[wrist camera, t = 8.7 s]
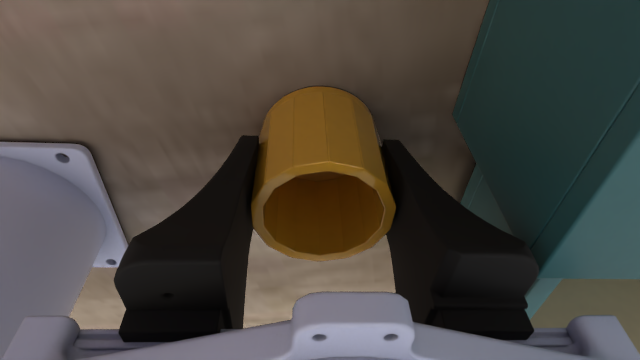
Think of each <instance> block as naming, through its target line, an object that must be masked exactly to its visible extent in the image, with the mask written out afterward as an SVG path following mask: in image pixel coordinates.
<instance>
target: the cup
mask: <svg viewBox="0 0 640 360" xmlns="http://www.w3.org/2000/svg"><path fill="white" fill-rule="evenodd" d="M395 211H396V203H395V199H394V195H393V191H392V186H391V182H390V178H389V174H388V170H387V166H386V162H385V158H384V154H383V150H382V146H381V142H380V137H379V134H378V131H377V129H376V125H375V121H374V119H373V116H372V114H371V112H370V111H369V109H368V108H367V107H366V105H365V104H364V103H363V102H362V101H360V100H359V99H358V98H357V97H355V96H354V95H352V94H350V93H348V92H346V91H343V90H340V89H337V88H332V87H324V86H317V87H308V88H303V89H299V90H297V91H294V92H292V93H290V94H288V95H286V96H284V97H283V98H282V99H280V100H279V101H278V102H277V103H275V104H274V105H273V106H272V108H271V109H270V110H269V112H268V113H267V115H266V117H265V119H264V122H263V125H262V129H261V131H260V137H259V149H258V157H257V163H256V169H255V176H254V184H253V191H252V199H251V215H252V226H253V228H254V230H255V231H256V232H257V233H258V235H259V236H260V237H261V238H262V240H263V241H264V242H265V243H266V245H268V246H269V247H271V248H273V249H275V250H277V251H279V252H281V253H283V254H285V255H287V256H289V257H292V258H298V259H305V260H311V261H328V260H336V259H344V258H347V257H348V258H349V257H351V256H353V255H356V254H358V253H360V252H362V251H364V250H367V249H369V248H371V247H372V246H374V245H375V244H376V243H377V242H378V241H379V240H380V239H381V238H382V237H383V236H384V235H385V234H386V233H387V232H388V231H389V230H390V228H391V225H392V222H393V218H394V214H395Z"/></svg>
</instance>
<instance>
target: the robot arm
mask: <svg viewBox="0 0 640 360" xmlns="http://www.w3.org/2000/svg"><path fill="white" fill-rule="evenodd" d="M258 149H259V136H244V135H243V136H242V137H240V139H239V141H238V143H237V144H236V146H235V148H234V149H233V151H232V152H231V154H230V155H229V157H228V158H227V160H226V161H225V162H224V164H223V165H222V166H221V168H220V169H219V170H218V172H217V173H216V174H215V175H214V176H213V177H212V179H211V180H210V181H209V182H208V183H207V184H206V185H205V186H204V188H203V189H202V190H201V191H200V192H199V193H197V194H196V195H195V196H194V197H193V198H192V199H191V200H190V201H189V202H187V203H186V204H185V205H184V206H183V207H182V208H180V209H179V210H178V211H176V212H175V213H174V214H172V215H171V216H169V217H168V218H166V219H165V220H163V221H162V222H160V223H159V224H157V225H155V226H154V227H152V228H150V229H148V230H147V231H145V232H143V233H141V234H139V235H137V236H135V237H134V238H133V239H132V241H131V242H130V244H129V246H128V243H127V241H126V238H125V236H124V234H123V231H122V229H121V226H120V224H119V221H118V219H117V216H116V214H115V211H114V209H113V206H112V204H111V201H110V199H109V196H108V194H107V191H106V189H105V187H104V184H103V182H102V179H101V177H100V174H99V172H98V169H97V167H96V164H95V162H94V159H93V157H92V154H91V153H90V151H89V150H88V149H87V148H86V147H84V146H82V145H79V144H68V143H30V142H0V360H640V354H639V353H638V351H637V349H636V348H635V346H634V345H633V343H632V341H631V340H630V338H629V337H628V335H627V333H626V332H625V330H624V329H623V327H622V326H621V324H620V322H619V321H618V319H617V318H616V316H614V315H582V316H578V317H575V318H574V319H572V320H571V321H570V322H569V324H568V325H567V327H566V328H533V326H532V324H531V322H530V320H529V317H528V315H527V313H526V311H525V309H527V308H528V303H527V301H526V299H525V297H524V295H525V294H526V293H527V291H528V290H529V289H530V287H531V286H532V284H533V283H534V282H535V280H536V278H537V276H538V274H539V266H538V264H537V262H536V260H535V258H534V256H533V254H532V252H531V251H530V249H529V247H528V246H527V244H526V242H525V241H523V240H521V239H519V238H517V237H514V236H512V235H510V234H508V233H506V232H504V231H502V230H500V229H498V228H497V227H495V226H493V225H492V224H490V223H488V222H486V221H485V220H483V219H482V218H480V217H478V216H477V215H475V214H474V213H472V212H471V211H470V210H468V209H467V208H465V207H464V206H463V205H461V204H460V203H459V202H457V201H456V200H455V199H454V198H452V197H451V196H450V195H449V194H448V193H446V192H445V191H444V190H443V189H442V188H441V187H440V186H439V185H438V184H437V183H436V182H435V181H434V180H433V179H432V178H431V177H430V176H429V175H428V174H427V173H426V172H425V171H424V170H423V168H422V167H421V166H420V165H419V164H418V163H417V162H416V160H415V159H414V158H413V157H412V156H411V154H410V153H409V152H408V151H407V149H406V148H405V147H404V146H403V144H402V143H401V142H400V141H399V140H385V139H383V144H382V150H383V154H384V158H385V162H386V166H387V170H388V174H389V178H390V182H391V186H392V191H393V195H394V199H395V203H396V211H395V214H394V218H393V222H392V225H391V228H390V230H389V231H388V232H387V233H386V235H387V239H388V243H389V247H390V252H391V258H392V265H393V272H394V280H395V289H396V293H389V292H316V293H310V294H307V295H305V296H304V297H302V298H300V299H298V300H297V301H296V303H295V305H294V307H293V315H292V320H287V321H281V322H276V323H271V324H265V325H260V326H255V327H249V328H244V329H243V316H244V303H245V290H246V277H247V266H248V255H249V248H250V242H251V237H252V232H253V226H252V215H251V199H252V191H253V184H254V176H255V169H256V163H257V157H258ZM61 153H62V154H65V155H67V156H68V157H65V156H64V155H62V154H61ZM92 267H118V269H117V271H116V274H115V278H114V283H115V287H116V289H117V291H118V293H119V295H120V297H121V299H122V301H123V303H124V305H125V307H126V312H125V314H124V317H123V320H122V323H121V326H120V329H87V330H80V328H79V325H78V324H77V322H76V321H75V320H74V319H72V318H70V317H69V316H70V314H71V311H72V309H73V307H74V305H75V303H76V301H77V298H78V296H79V294H80V292H81V290H82V288H83V285H84V283H85V281H86V279H87V277H88V275H89V272H90V270H91V268H92Z"/></svg>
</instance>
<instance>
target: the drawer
mask: <svg viewBox="0 0 640 360" xmlns="http://www.w3.org/2000/svg"><path fill="white" fill-rule="evenodd" d="M460 204H461V205H463V206H464V207H465V208H467V209H468V210H470V211H471V212H472V213H474V214H475V215H477V216H478V217H480V218H482V219H483V220H485V221H486V222H488V223H490V224H492V225H493V226H495V227H497V228H498V229H500V230H502V231H504V232H506V233H508V234H510V235H512V233H511V231H510V229H509V227H508V225H507V223H506V221H505V219H504V217H503V215H502V213H501V211H500V209H499V207H498V205H497V203H496V201H495V199H494V197H493V195H492V193H491V191H490V189H489V187H488V185H487V183H486V181H485V179H484V177H483V175H482V173H481V171H480V169H479V167H478V165H477V163H476V166H475V168H474V171H473V173H472V176H471V178H470V180H469V183H468V185H467V188H466V190H465V192H464V195H463V197H462V200H461V202H460ZM512 236H513V235H512ZM524 297H525V299H526V301H527V303H528V308H527V309H525V311H526V313H527V315H528V317H529V320H530V322H531V324H532V326H533V328H566V327H567V325H568V324H569V322H570V321H571V320H572V319H574V318H575V317H578V316H582V315H614V316H616V318H617V319H618V321H619V322H620V324H621V326H622V327H623V329H624V330H625V332H626V333H627V335H628V337H629V338H630V340H631V341H632V343H633V345H634V346H635V348H636V349H637V351H638V353H639V354H640V279H537V278H536V280H535V282H534V283H533V284H532V286H531V287H530V289H529V290H528V291H527V293H526V294H525V295H524Z"/></svg>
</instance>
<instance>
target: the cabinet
mask: <svg viewBox="0 0 640 360" xmlns="http://www.w3.org/2000/svg"><path fill="white" fill-rule="evenodd" d="M452 115H453V117H454V119H455V121H456V123H457V126H458V128H459V130H460V132H461V134H462V136H463V138H464V140H465V142H466V144H467V146H468V148H469V150H470V151H471V153H472V155H473V157H474V159H475V161H476V163H477V165H478V167H479V169H480V171H481V173H482V175H483V177H484V179H485V181H486V183H487V185H488V187H489V189H490V191H491V193H492V195H493V197H494V199H495V201H496V203H497V205H498V207H499V209H500V211H501V213H502V215H503V217H504V219H505V221H506V223H507V225H508V227H509V229H510V231H511V233H512V235H513V236H514V237H517V238H519V239H521V240H523V241H525V242H526V244H527V246H528V247H529V249H530V251H531V252H532V254H533V256H534V258H535V260H536V262H537V264H538V266H539V274H538V276H537V279H640V0H490V1H489V4H488V7H487V10H486V13H485V16H484V19H483V22H482V25H481V28H480V31H479V34H478V37H477V41H476V44H475V47H474V50H473V53H472V56H471V59H470V62H469V65H468V68H467V71H466V74H465V77H464V80H463V83H462V86H461V89H460V92H459V95H458V98H457V101H456V104H455V108H454V111H453V114H452Z"/></svg>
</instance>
